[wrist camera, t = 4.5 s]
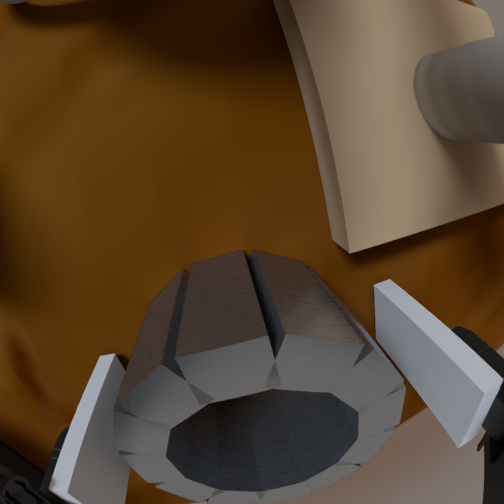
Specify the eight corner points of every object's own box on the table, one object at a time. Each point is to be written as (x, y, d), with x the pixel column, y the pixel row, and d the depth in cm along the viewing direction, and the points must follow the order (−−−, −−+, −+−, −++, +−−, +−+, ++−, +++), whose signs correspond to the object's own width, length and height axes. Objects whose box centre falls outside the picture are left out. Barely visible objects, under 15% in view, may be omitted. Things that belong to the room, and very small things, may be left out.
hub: (188, 426, 13) (186, 513, 8) (111, 286, 10) (54, 376, 5) (347, 385, 13) (389, 464, 8) (330, 226, 10) (413, 286, 5)
